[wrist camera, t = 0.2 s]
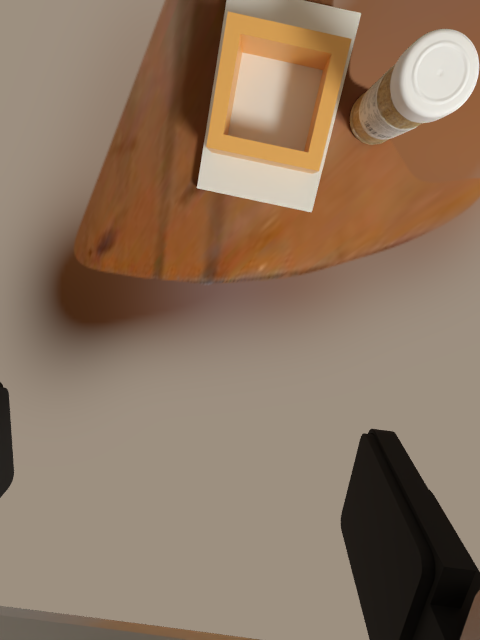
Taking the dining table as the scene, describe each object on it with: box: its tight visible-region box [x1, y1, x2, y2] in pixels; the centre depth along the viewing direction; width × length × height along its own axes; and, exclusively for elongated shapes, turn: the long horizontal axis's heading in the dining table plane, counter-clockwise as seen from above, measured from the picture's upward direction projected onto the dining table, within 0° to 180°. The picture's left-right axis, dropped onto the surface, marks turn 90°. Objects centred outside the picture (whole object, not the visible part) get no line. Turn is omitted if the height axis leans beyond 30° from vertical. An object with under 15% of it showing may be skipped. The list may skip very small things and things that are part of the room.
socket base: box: [197, 0, 361, 212], centre depth 33 cm, size 16×11×5 cm
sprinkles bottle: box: [350, 29, 479, 145], centre depth 29 cm, size 5×5×14 cm
